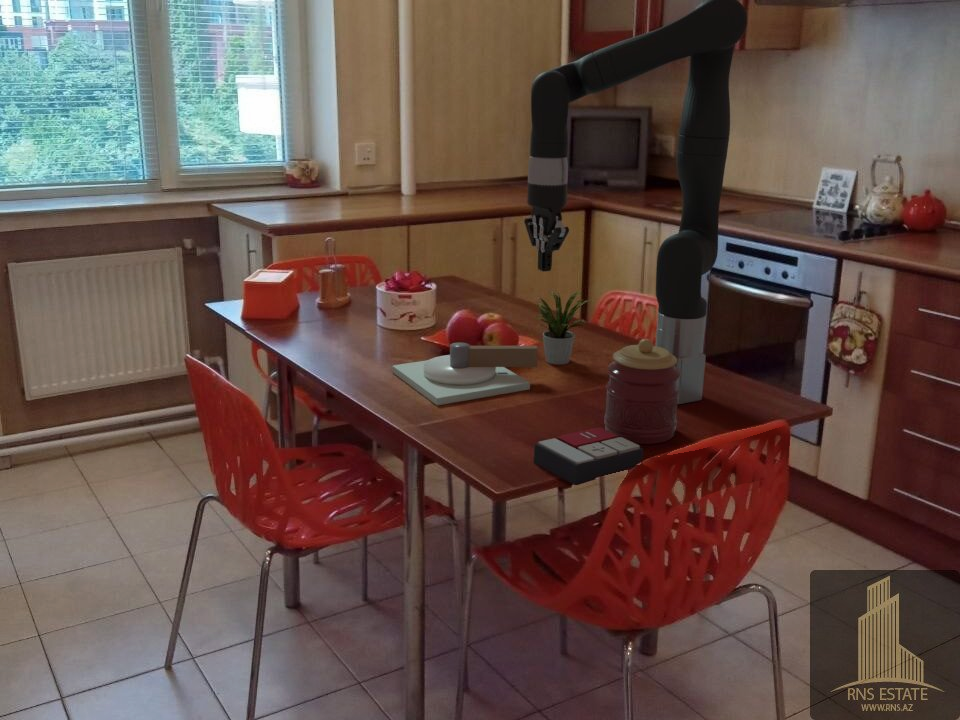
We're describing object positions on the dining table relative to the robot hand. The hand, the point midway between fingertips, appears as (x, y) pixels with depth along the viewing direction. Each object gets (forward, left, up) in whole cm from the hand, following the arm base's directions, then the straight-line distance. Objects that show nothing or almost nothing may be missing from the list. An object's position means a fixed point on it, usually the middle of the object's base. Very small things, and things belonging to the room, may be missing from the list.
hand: (544, 270), depth 184 cm
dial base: (+12, +12, -25) cm, 30 cm away
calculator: (-34, +11, -26) cm, 44 cm away
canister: (-27, -5, -25) cm, 37 cm away
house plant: (+14, -15, -25) cm, 33 cm away
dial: (+11, +8, -23) cm, 27 cm away
